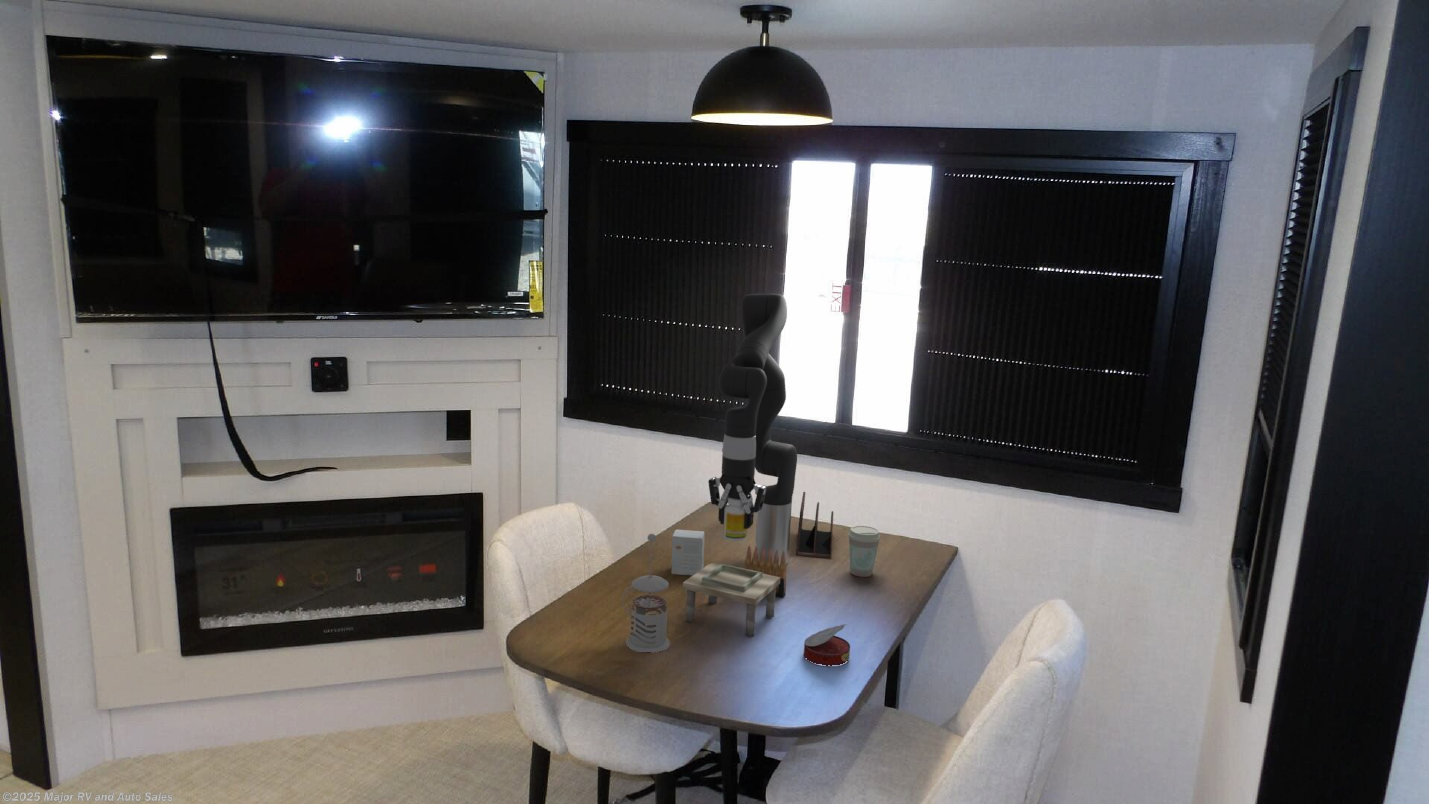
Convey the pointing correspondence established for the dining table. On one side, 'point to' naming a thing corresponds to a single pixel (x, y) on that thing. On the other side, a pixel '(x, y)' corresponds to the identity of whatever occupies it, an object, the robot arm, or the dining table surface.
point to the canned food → (827, 647)
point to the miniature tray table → (732, 590)
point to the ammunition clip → (769, 567)
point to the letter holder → (814, 538)
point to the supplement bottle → (734, 520)
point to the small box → (687, 552)
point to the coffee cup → (863, 549)
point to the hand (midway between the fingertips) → (735, 525)
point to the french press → (651, 635)
